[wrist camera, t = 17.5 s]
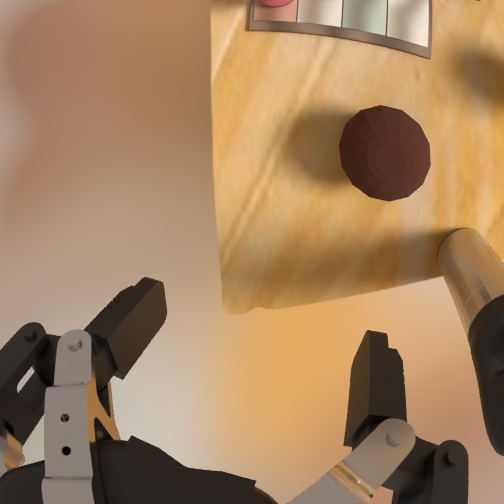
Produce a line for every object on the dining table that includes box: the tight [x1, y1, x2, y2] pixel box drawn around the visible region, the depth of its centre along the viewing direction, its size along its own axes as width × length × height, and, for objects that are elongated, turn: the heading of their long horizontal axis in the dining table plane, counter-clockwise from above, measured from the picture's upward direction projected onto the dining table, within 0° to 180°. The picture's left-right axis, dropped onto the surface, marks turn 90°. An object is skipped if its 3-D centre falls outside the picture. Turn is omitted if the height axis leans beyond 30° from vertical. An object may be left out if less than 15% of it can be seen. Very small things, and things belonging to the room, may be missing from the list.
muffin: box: [339, 105, 431, 202], centre depth 32 cm, size 12×11×10 cm
